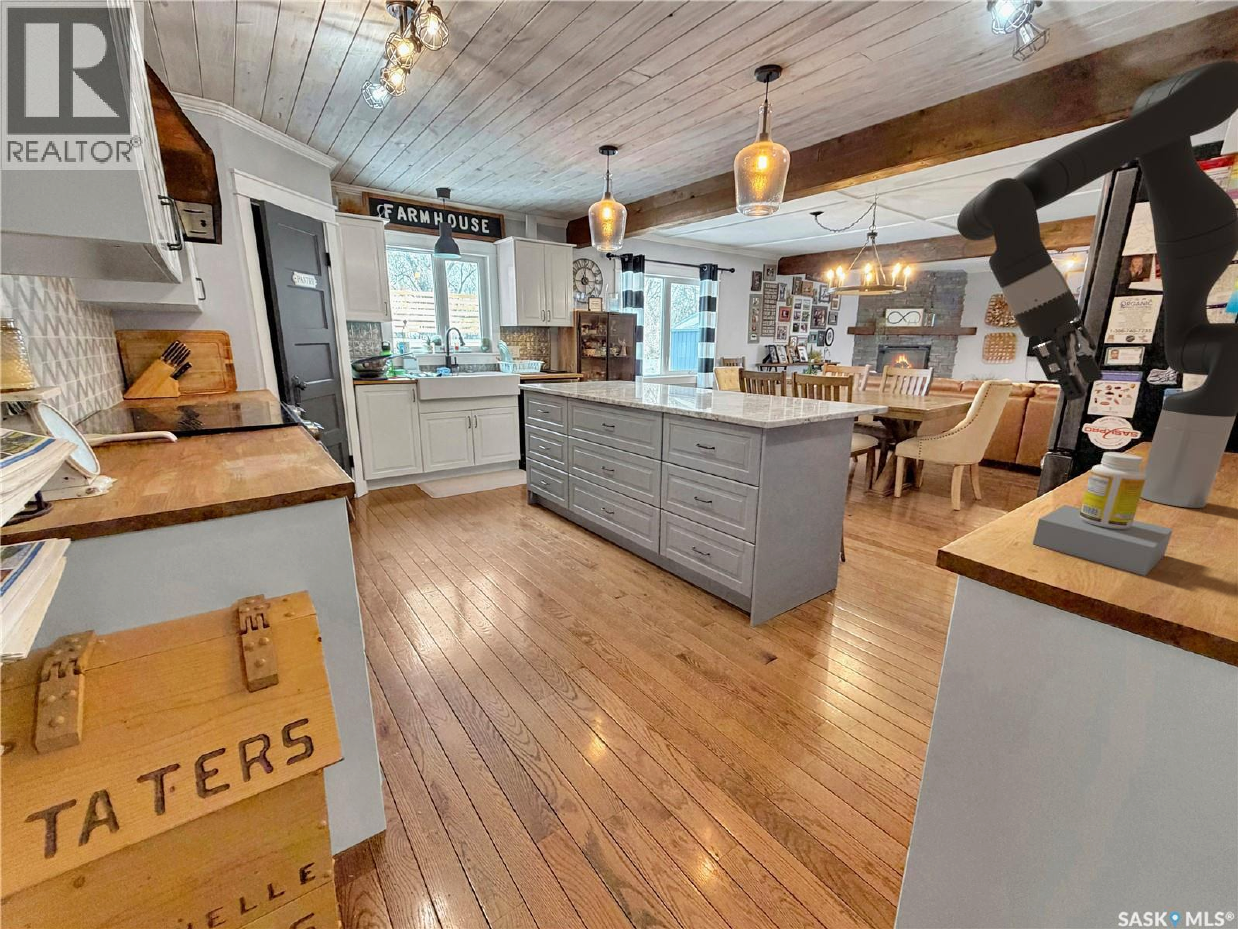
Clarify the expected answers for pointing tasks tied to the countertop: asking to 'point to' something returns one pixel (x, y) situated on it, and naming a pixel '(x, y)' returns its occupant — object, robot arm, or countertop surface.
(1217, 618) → the countertop surface
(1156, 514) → the countertop surface
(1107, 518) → the supplement bottle
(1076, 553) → the slate block
